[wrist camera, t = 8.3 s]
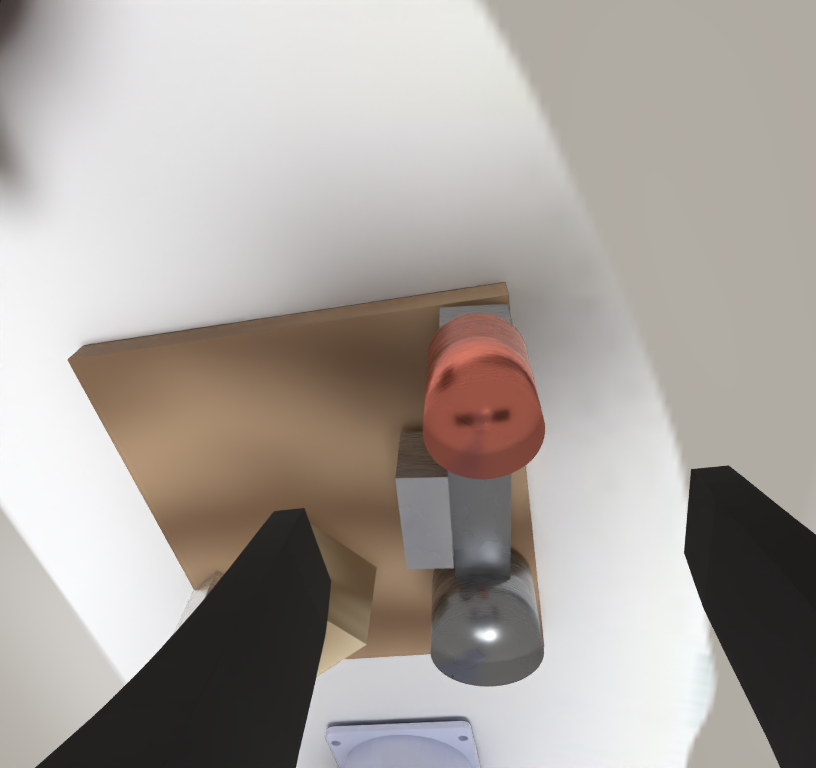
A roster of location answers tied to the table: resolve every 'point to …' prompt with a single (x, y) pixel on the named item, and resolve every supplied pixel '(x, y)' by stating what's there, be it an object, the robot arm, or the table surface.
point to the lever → (473, 496)
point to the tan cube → (345, 600)
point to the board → (288, 438)
